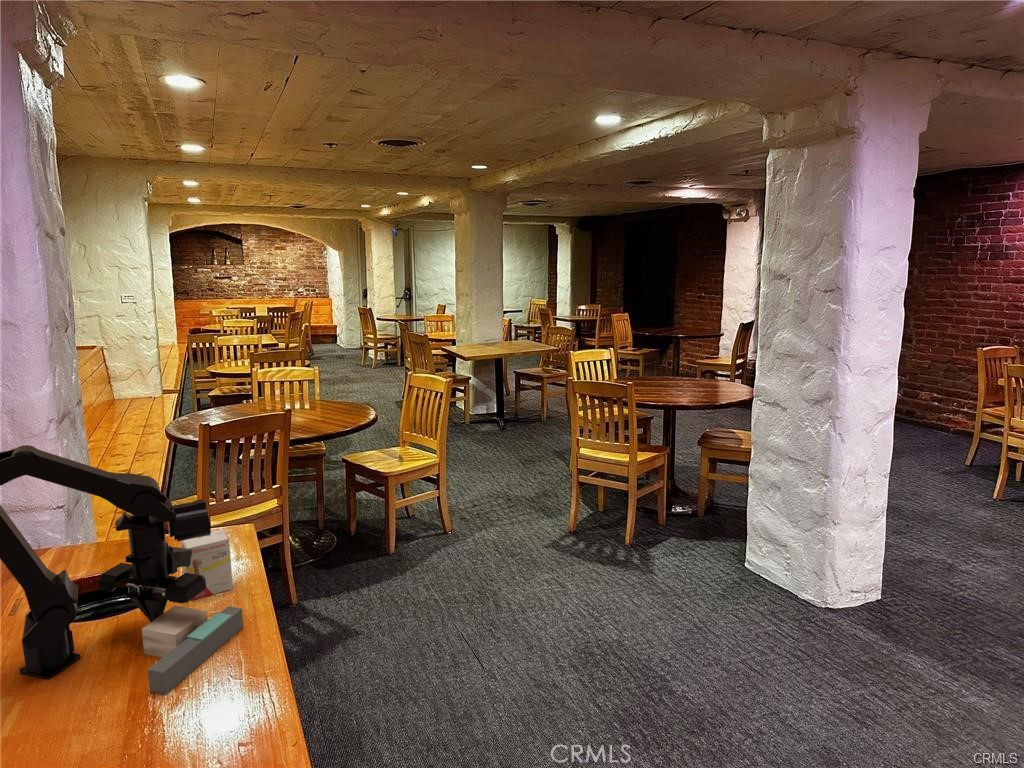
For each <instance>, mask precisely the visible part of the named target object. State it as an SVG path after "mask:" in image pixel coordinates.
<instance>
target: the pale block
mask: <svg viewBox="0 0 1024 768" xmlns="http://www.w3.org/2000/svg"><path fill="white" fill-rule="evenodd" d="M207 614H208V613H207V610H203V609H197V608H191V607H185V606H178V605H173V606H171V607H170V608H169V609H167V610H166V611H164V613H163V614H162V615H160V616H159V617H158V618H156V619H155V620H153V621H152V622H149V623H148V624H146V625H145V626H144V627H142V628H141V635H142V644H143V653H144V655H148V656H154V657H158V658H163V657H164V656H166V655H167V654H168V653H170V652H171V651H172V650H173V649H175V648H176V647H177V646H178V645H180V644H181V643H182V642H183V641H185V640H186V639H187V636H188V635H189V634H191V633H192V632H193V631H194V630H196V629H197V628H198V627H199V626H201V625H202V624H203V623H205V622H206V621H207V620H208V616H207Z"/></svg>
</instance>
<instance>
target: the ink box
mask: <svg viewBox="0 0 1024 768" xmlns="http://www.w3.org/2000/svg"><path fill="white" fill-rule="evenodd" d="M180 542H181V548H185V549H191V550H192V556H191V562H190V566H189V567H186V566H184V567H182V568H183V574H184V573H191V574H197V575H202V576H204V577H205V580H206V589H204V590H203V591H202V592H200V593H199V594H198V595H196V596H195V597H193V598H192V599H191V600H190V601H194V600H198V599H201V598H205V597H208V596H212V595H215V594H219V593H223V592H226V591H229V590H232V589H233V588H234V584H233V574H232V573H233V572H232V559H231V548H230V539H229V536H228V534H227V533H226V532H225V530H217V531H211V534H210V535H207V536H202V537H197V538H192V539H187V540H182V541H180Z"/></svg>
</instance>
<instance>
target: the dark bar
mask: <svg viewBox="0 0 1024 768" xmlns="http://www.w3.org/2000/svg"><path fill="white" fill-rule="evenodd" d="M243 619H244V618H243V608H240V607H236V606H227V607H225V608H223V610H221V611H220V612H216V613H215V614H214V615H212V616H211V617H210V618H207V621H206V622H205V623H203V624H202V625H201V626H199V627H198V628H197V629H196V630H194V631H193V632H192V633H191V634H189V635H188V636H187V639H186V640H185V641H183V642H182V643H181V644H180V645H178V646H177V647H176V648H175V649H173V650H172V651H171V652H170V653H168V654H167V655H166V656H164V657H161V659H159V660H158V661H157V662H155V663H154V664H153V665H152V666H151V667H149V668H148V669H147V674H148V676H147V677H148V685H149V691H150V692H152V693H157V694H161V695H167V694H168V693H169V692H170V691H171V690H173V689H174V688H175V687H177V685H178V684H180V683H181V682H182V681H183V680H184V679H185V678H186V677H188V676H189V675H190V674H191V673H192V672H194V671H195V670H196V669H197V668H198V667H199V666H200V665H202V664H203V663H204V662H205V661H206V660H207V659H208V658H210V657H211V656H212V655H213V654H214V653H216V652H217V651H218V650H219V649H220V648H221V647H222V646H224V645H225V644H226V643H227V642H228V641H230V639H232V638H233V637H234V636H235V635H236V634H238V632H240V631H241V630H242V629H244V620H243Z"/></svg>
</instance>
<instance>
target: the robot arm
mask: <svg viewBox="0 0 1024 768" xmlns="http://www.w3.org/2000/svg"><path fill="white" fill-rule="evenodd" d="M24 476H28V477H32V478H36V479H39V480H42V481H45V482H49V483H52V484H54V485H59V486H61V487H65V488H69V489H73V490H76V491H79V492H82V493H86V494H89V495H93V496H96V497H99V498H101V499H103V500H106V501H107V502H109V503H110V504H112V505H113V506H114V507H116V508H117V509H120V510H122V511H123V513H122V514H121V516H120V517H118V519H117V520H115V521H114V524H115V527H114V528H115V530H116V532H122V531H126V530H127V533H128V541H129V542H128V543H129V549H130V553H129V554H128V555H126V556H125V557H124V558H125V562H126V563H124V562H120V563H118V564H116V565H115V566H113V567H111V568H109V569H107V570H105V571H104V572H102V573H101V574H100V575H99V578H98V581H97V582H98V589H99V591H104V592H109V593H111V592H113V591H114V590H116V588H117V585H118V584H117V582H118V583H123V584H125V587H127V588H128V592H126V594H125V598H126V599H129V600H130V601H131V602H132V603H133V604H134V605H135V606H136V608H138V609H139V610H140V612H142V613H143V615H144V616H145V618H147V620H148V621H149V623H151V622H152V621H153V620H155V619H156V618H158V617H159V616H160V615H162V614H163V613H165V610H166V606H167V603H168V601H169V602H170V603H177V604H187V603H188V602H189V601H192V600H191V599H192V598H193V597H195V596H196V595H198V594H199V593H200V592H202V591H203V590H204V589H206V580H205V577H204V576H202V575H197V574H191V573H184V572H183V574H181V575H180V576H175V575H174V574H176V573H177V572H178V571H179V570H178V568H183V567H184V566H186V567H189V566H190V562H191V556H192V550H191V549H185V548H182V547H176V546H172V545H169V543H168V542H167V538H166V531H165V530H166V528H165V523H167V531H168V534H169V537H170V538H173V539H174V541H176V542H182V540H187V539H192V538H197V537H202V536H207V535H210V534H211V533H212V531H211V530H212V527H211V526H212V525H211V520H210V518H209V514H208V513H209V512H208V509H207V501H206V500H205V499H204V498H202V499H197V500H194V501H190V502H184V503H180V504H174V505H173V502H172V500H171V499H170V498H168V497H167V496H166V495H165V494H164V493H162V492H161V488H160V486H159V483H158V481H157V480H156V479H154V478H153V477H151V476H149V475H143V474H137V473H131V472H130V473H129V472H126V473H125V472H111V471H108V470H103V469H101V468H98V467H95V466H91V465H88V464H84V463H82V462H79V461H75V460H72V459H69V458H66V457H63V456H60V455H57V454H53V453H50V452H47V451H43V450H41V449H38V448H37V447H35V446H33V445H28V444H26V445H19V446H18V447H15V448H12V449H9V450H3V451H0V487H1V486H3V485H5V484H7V483H9V482H11V481H14V480H16V479H19V478H22V477H24ZM0 560H1V562H2V563H3V565H4V566H5V567H6V568H7V570H8V571H9V572H10V574H11V576H13V578H14V579H15V580H16V581H17V583H18V584H19V586H20V587H21V588H22V590H23V591H24V595H25V598H26V601H27V605H28V607H29V611H28V613H27V614H26V615H25V617H24V618H25V619H24V623H23V632H22V639H21V644H22V652H23V658H24V663H25V665H24V666H22V667H21V668H19V670H18V672H19V674H23V675H27V676H33V677H37V678H41V679H47V680H48V679H51V678H53V677H54V676H56V675H57V674H58V673H60V672H61V671H63V670H64V669H66V668H67V667H69V666H70V665H72V664H73V663H74V662H76V661H78V660H79V659H81V654H80V653H77V652H75V651H76V650H75V643H74V635H73V630H71V629H70V628H71V627H70V625H71V624H72V623H73V622H74V621H75V619H76V616H77V612H78V611H77V610H78V609H77V608H78V606H77V605H78V600H79V599H78V598H79V596H78V595H79V594H78V589H79V587H78V584H76V582H74V581H72V580H71V578H70V576H69V574H68V572H67V569H64V570H62V571H60V572H59V573H58V574H57V573H55V572H53V571H52V570H50V569H49V568H48V567H47V566H46V565H45V563H44V562H43V561H42V559H41V558H40V557H39V555H38V553H37V552H36V551H35V550H34V548H33V547H32V546H31V544H30V543H29V542H28V540H27V539H26V537H25V536H24V535H23V533H22V532H21V531H20V530H19V529H18V526H16V524H15V522H14V521H13V520H12V518H11V517H10V516H9V515H8V513H7V512H6V511H5V509H4V508H3V506H2V505H1V504H0ZM172 575H173V576H172Z"/></svg>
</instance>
